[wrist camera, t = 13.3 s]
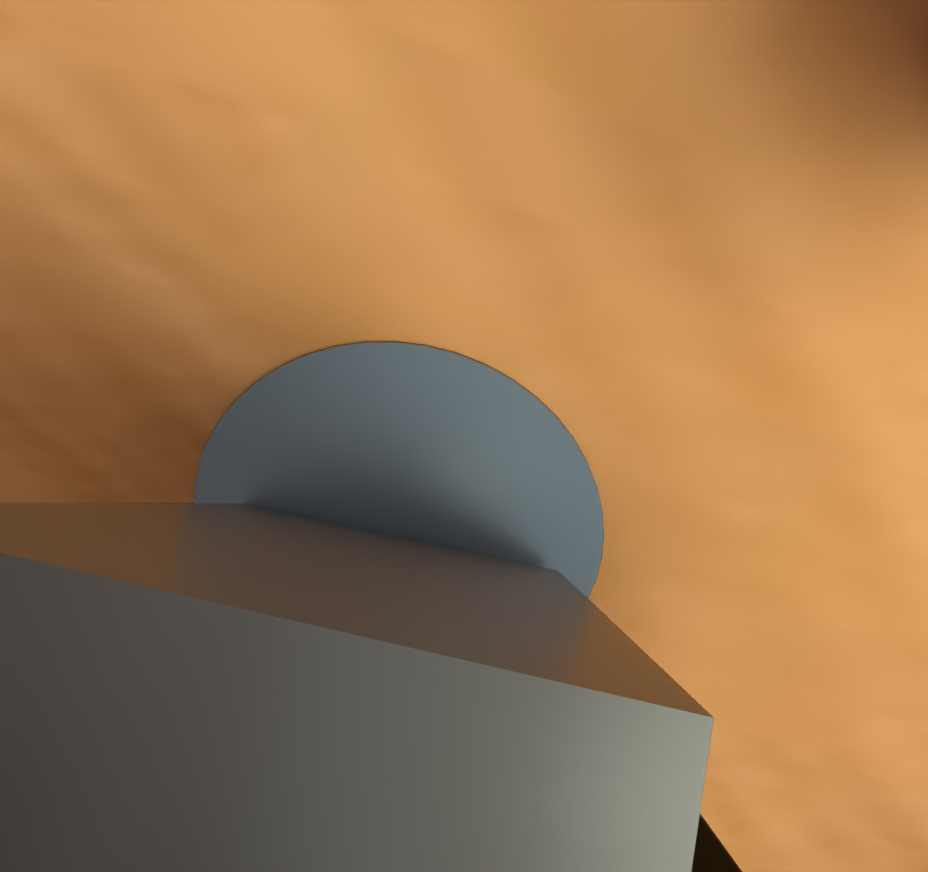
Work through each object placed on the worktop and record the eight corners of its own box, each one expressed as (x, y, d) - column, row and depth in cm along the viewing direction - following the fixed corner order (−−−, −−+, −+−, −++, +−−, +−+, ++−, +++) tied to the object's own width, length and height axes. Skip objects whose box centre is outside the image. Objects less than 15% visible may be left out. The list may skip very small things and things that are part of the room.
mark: (547, 711, 15) (548, 717, 15) (203, 651, 15) (200, 657, 15) (658, 388, 11) (661, 391, 11) (191, 301, 11) (186, 303, 11)
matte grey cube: (493, 921, 12) (511, 2114, 3) (164, 834, 12) (-622, 1637, 4) (558, 570, 13) (714, 717, 4) (248, 503, 13) (-218, 501, 4)
